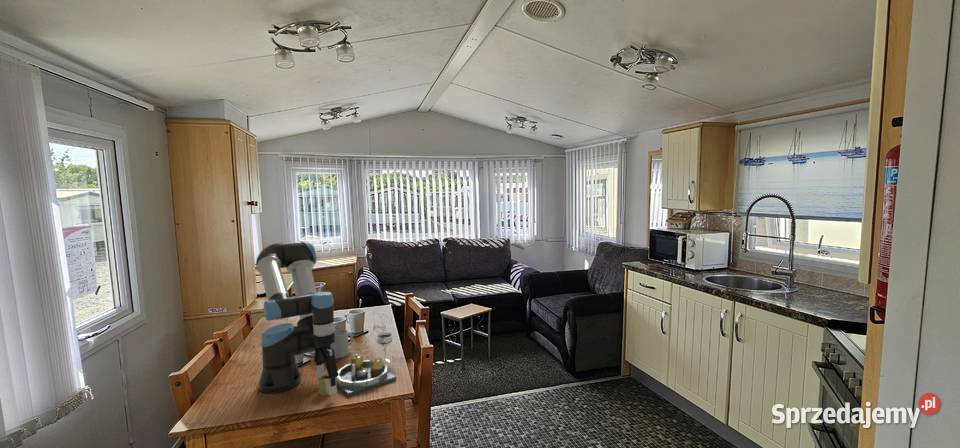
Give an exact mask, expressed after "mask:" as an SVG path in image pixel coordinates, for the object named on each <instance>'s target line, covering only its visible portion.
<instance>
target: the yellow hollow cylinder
mask: <svg viewBox="0 0 960 448" xmlns="http://www.w3.org/2000/svg"><path fill="white" fill-rule="evenodd" d="M327 377H329V375H328V373H326V374H325V373H324V375H322V376H320V377H319V382H318V389H319V390H318V392H319V395H320V396H330V395H329V390H328V379H327Z"/></svg>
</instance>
